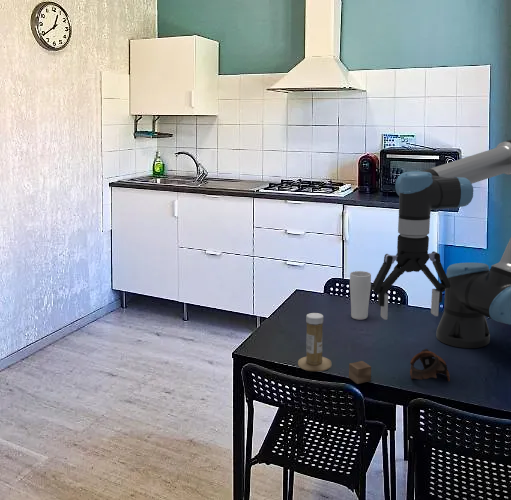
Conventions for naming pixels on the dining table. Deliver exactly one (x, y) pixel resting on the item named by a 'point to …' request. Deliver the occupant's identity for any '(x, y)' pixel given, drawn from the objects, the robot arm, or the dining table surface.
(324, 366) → the cork coaster
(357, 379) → the walnut block
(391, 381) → the dining table surface
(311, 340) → the sprinkles bottle
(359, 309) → the drinking glass
